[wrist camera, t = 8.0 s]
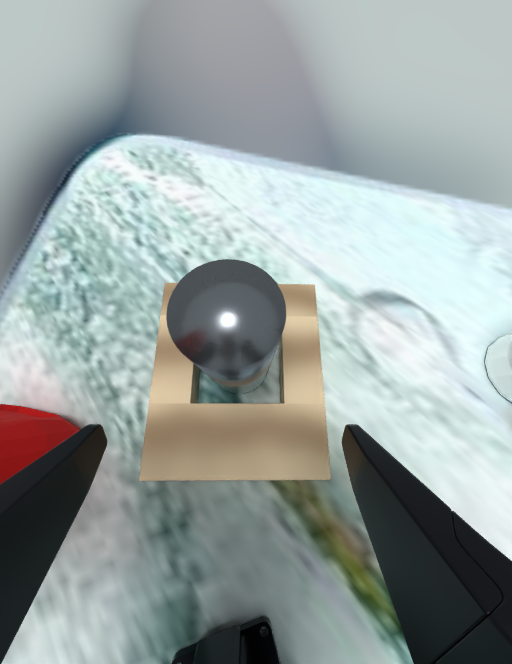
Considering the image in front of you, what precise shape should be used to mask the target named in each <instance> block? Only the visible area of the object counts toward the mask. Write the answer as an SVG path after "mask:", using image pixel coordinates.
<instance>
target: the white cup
mask: <svg viewBox="0 0 512 664" xmlns="http://www.w3.org/2000/svg"><path fill="white" fill-rule="evenodd" d="M485 364H486V368H487V372H488V376H489V379H490V380H491V382H492V383H493V385H494V386H495V388H496V389H497V390H498V392H499V393H500V394H501V395H502V396H503V397H505V398H506V399H508V400H509V401H510V402H512V333H511V334H508V335H505V336H502V337H500V338H498V339H497V340H496V341H495V342H494V343H492V344H491V345H490V346H489V347H488V351H487V355H486V359H485Z"/></svg>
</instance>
